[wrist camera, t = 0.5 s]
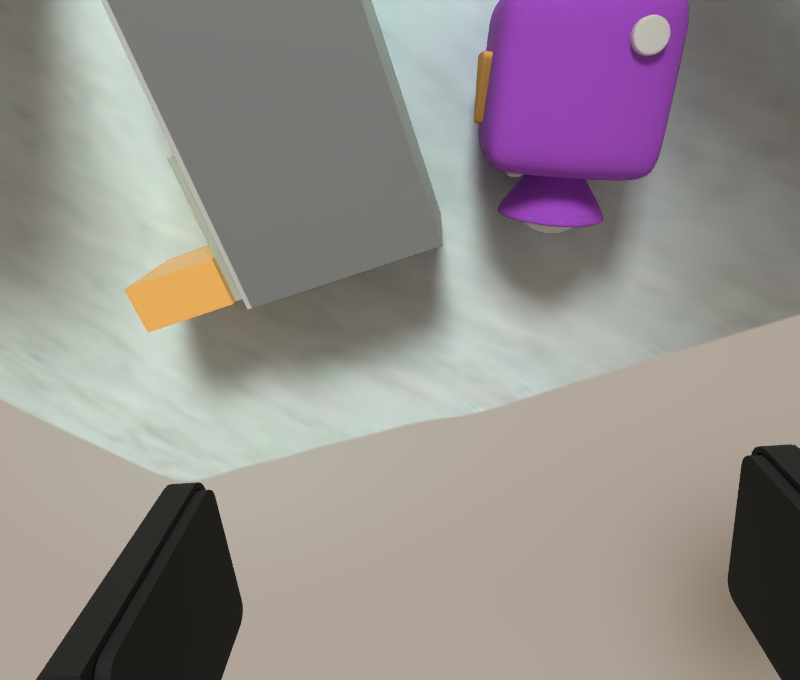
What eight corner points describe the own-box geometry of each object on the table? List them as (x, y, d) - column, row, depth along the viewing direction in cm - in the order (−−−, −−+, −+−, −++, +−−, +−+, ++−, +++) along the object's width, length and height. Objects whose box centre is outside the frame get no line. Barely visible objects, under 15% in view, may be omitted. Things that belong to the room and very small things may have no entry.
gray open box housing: (135, -65, 37) (49, -107, 29) (321, -152, 35) (287, -225, 26) (281, 267, 45) (247, 310, 37) (440, 213, 43) (442, 245, 34)
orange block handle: (132, 175, 42) (72, 195, 35) (220, 141, 40) (176, 154, 34) (191, 293, 45) (147, 332, 38) (274, 265, 44) (245, 300, 37)
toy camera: (478, 224, 43) (491, 263, 34) (460, 6, 38) (469, -17, 28) (635, 204, 42) (692, 240, 33) (639, -22, 36) (708, -56, 27)
